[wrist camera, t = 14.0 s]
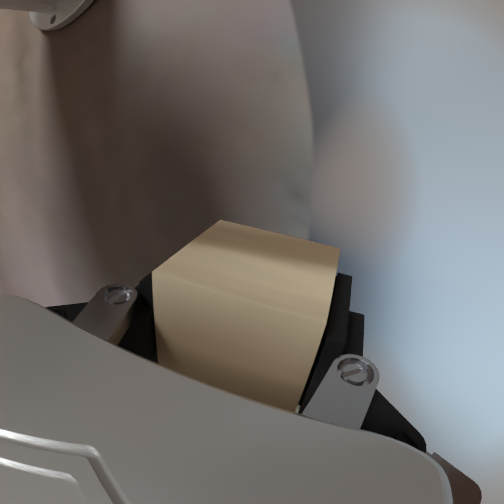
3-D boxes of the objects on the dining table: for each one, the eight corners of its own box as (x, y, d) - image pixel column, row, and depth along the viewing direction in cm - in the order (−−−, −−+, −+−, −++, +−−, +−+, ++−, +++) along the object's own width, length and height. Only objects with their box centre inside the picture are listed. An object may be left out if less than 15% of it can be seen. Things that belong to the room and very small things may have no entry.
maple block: (220, 219, 12) (152, 271, 8) (340, 248, 11) (326, 323, 7) (212, 316, 14) (160, 384, 10) (312, 345, 13) (287, 430, 9)
